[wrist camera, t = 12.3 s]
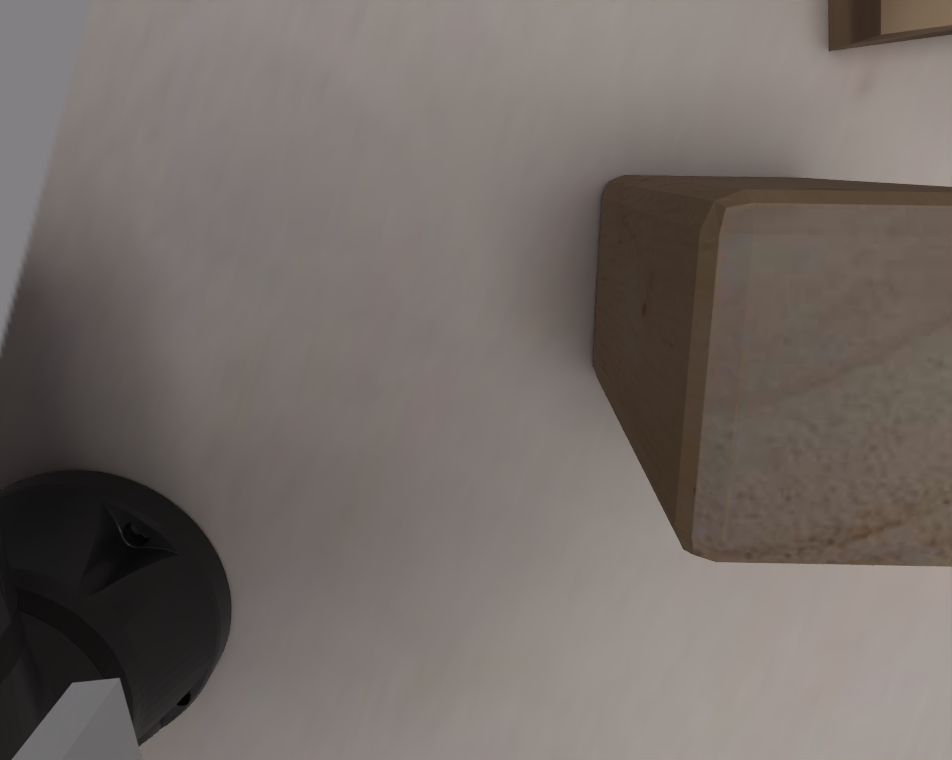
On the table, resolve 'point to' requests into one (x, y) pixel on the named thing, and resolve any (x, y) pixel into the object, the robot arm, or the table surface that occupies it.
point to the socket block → (886, 21)
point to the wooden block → (784, 362)
